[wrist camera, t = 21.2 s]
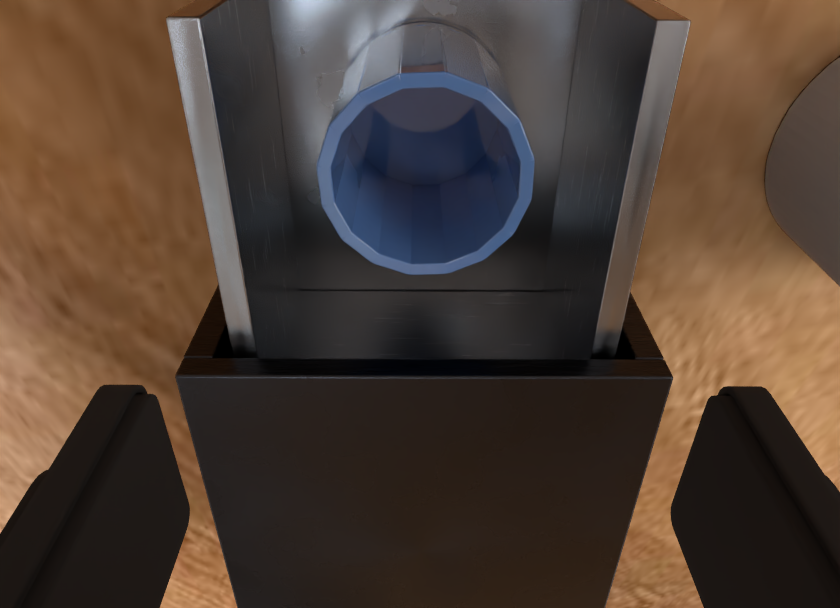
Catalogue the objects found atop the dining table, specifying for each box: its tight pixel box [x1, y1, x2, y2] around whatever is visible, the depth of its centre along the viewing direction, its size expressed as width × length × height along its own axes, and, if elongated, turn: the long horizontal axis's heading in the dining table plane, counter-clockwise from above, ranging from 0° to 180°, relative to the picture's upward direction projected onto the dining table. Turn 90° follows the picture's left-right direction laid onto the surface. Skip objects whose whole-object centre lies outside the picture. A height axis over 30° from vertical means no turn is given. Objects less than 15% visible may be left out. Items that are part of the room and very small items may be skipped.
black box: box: [175, 284, 673, 608], centre depth 28 cm, size 17×15×11 cm
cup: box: [316, 22, 535, 275], centre depth 21 cm, size 6×6×6 cm
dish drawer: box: [166, 0, 691, 359], centre depth 20 cm, size 20×14×9 cm, turn 0°
